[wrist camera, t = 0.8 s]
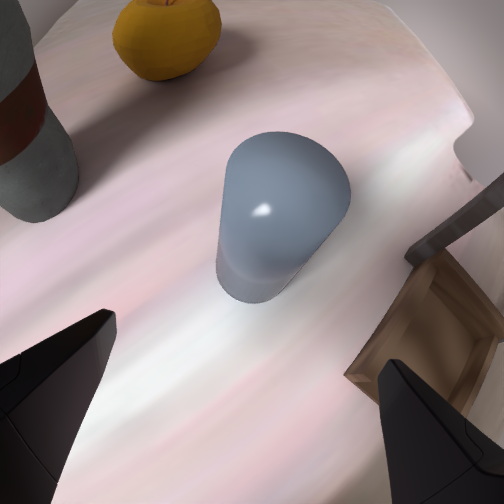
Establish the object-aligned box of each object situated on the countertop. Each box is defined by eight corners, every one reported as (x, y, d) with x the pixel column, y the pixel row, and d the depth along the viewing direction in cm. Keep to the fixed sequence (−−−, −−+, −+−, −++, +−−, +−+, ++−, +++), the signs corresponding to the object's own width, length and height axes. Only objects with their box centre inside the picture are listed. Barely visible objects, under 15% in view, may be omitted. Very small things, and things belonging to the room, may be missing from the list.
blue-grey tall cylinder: (294, 297, 25) (366, 231, 14) (221, 308, 24) (236, 244, 12) (280, 231, 27) (329, 132, 16) (211, 237, 26) (218, 133, 15)
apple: (236, 64, 36) (247, -8, 25) (170, 114, 31) (166, 25, 20) (165, 39, 37) (165, -25, 26) (99, 81, 32) (84, 9, 21)
